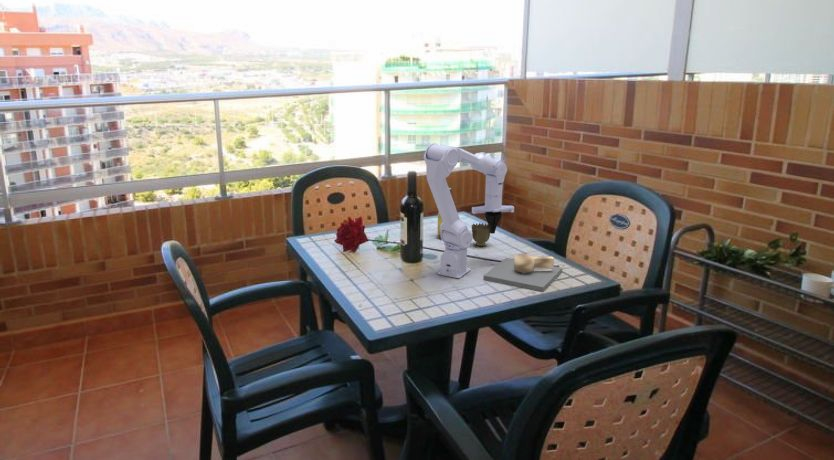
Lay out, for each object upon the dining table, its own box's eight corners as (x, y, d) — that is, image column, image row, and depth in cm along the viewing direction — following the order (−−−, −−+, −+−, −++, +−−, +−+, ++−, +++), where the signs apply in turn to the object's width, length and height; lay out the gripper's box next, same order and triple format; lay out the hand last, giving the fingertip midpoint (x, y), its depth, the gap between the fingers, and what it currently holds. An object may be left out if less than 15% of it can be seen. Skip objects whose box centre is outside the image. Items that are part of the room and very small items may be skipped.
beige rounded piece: (516, 272, 199) (516, 260, 197) (512, 265, 205) (512, 254, 204) (554, 271, 199) (555, 260, 198) (550, 265, 205) (550, 253, 204)
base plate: (543, 291, 189) (543, 285, 189) (483, 279, 199) (483, 273, 198) (562, 271, 206) (562, 266, 206) (506, 261, 216) (506, 256, 215)
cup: (491, 248, 229) (492, 228, 227) (471, 248, 229) (472, 228, 227) (489, 242, 236) (490, 222, 234) (470, 242, 236) (471, 222, 234)
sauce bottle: (452, 240, 238) (453, 190, 232) (436, 239, 239) (437, 190, 233) (454, 235, 244) (455, 187, 238) (438, 234, 245) (439, 186, 240)
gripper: (476, 198, 204) (474, 237, 208) (517, 196, 207) (515, 235, 211) (470, 193, 211) (469, 231, 215) (511, 191, 213) (509, 229, 217)
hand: (492, 232), depth 213 cm, fingers closed
